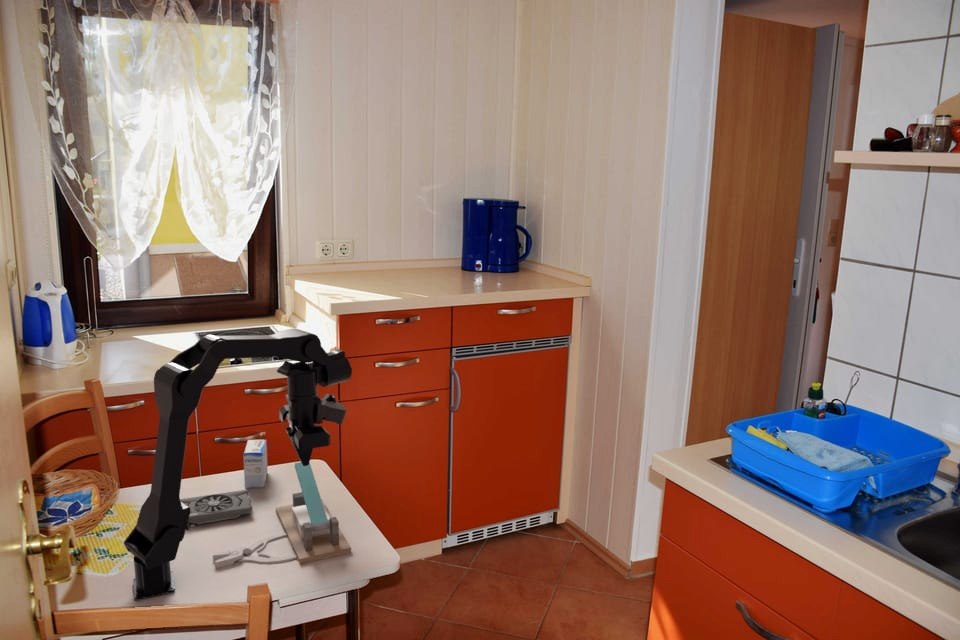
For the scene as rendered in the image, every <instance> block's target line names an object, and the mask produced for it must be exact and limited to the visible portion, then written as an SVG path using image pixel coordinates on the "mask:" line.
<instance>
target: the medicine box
mask: <svg viewBox="0 0 960 640" xmlns="http://www.w3.org/2000/svg"><path fill="white" fill-rule="evenodd" d="M267 445H268V444H267V439H248V440H247V442H246V445H245V448H244V450H243V451H244V452H243V472H244V473H243V477H244V479H243V480H244V488H246V489H254V487H255V488H264V487H265V485H266V479H267V473H268V447H267Z"/></svg>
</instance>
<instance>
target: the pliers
mask: <svg viewBox="0 0 960 640" xmlns="http://www.w3.org/2000/svg"><path fill="white" fill-rule="evenodd" d="M284 537H287V534H286V533H285V532H284V533H279V534H275V535H271V536H268V537H264V538H262V539H259V540H257V541H255V542H254V543H251V544H250V545H249V546H248V547H245V546H241V547H238V548H236V549H235V550H234V551H230V550H226V551H220V552H214V553H213V554H212V561H213V562H214V567H215V568H216V569H220V568H222V567H227V566H230V565H231V566H232V565H233V564H234V563H235V562H240V563H242V562H250V563H255V564H257V563H258V564H277V563H278V564H279V563H284V562H290V561H293V560H296V559H297V556H296V555H295V554H294V555H288V556H280V557H275V556H273V555H271V554H269V553H260V552H261V551H262V550H264V549H265V547H266V546H267V544H268V543H269V542H271V541H275V540H278V539H280V538H284ZM259 547H260V548H259ZM255 550H256V553H258V555H257V556H256V555H252V556H245V555H248V554H250V553H253V552H254V551H255ZM234 565H235V564H234Z"/></svg>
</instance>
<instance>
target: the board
mask: <svg viewBox="0 0 960 640" xmlns="http://www.w3.org/2000/svg"><path fill="white" fill-rule="evenodd" d="M321 501H322V504H323V507H324V510H325V513H326V517H327V520H328V522H329V524H330V529H325V530H320V531H315V532H313V531H312V524H311V521H310V517H309V514H308V511H307V507H306V505H302V506H297V507H293V503H292V504H288V505H287V504H286V505H282V506H278V507H277V506H276V507H275V513H276V515H277V518H278V520H279V522H280V524H281V526H282V529H283V530H284V533H286V534H287V536H286V537H287V540H288V542H289V545H290V546H291V549H292V550H293V553H294V555H296V556H297V558H296V559H297V562H298V564H299V565H301V564H305V563H309V562H313V561H318V560H323V559H327V558H332V557H336V556H337V557H338V556H340V555H341V556H342V555H345V554H346V555H347V554H349V553H352V547H351V545H350V543H349V541H348V540H347V539H346V537H345V536H344V533H343V532H342V530H341V528H340V525H339V522H340V521H339V520H338V518H337V516H333V515H332V513H331V512H330V511H329V508H328V507H327V504H325V502H324V500H323V499H322V498H321Z"/></svg>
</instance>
